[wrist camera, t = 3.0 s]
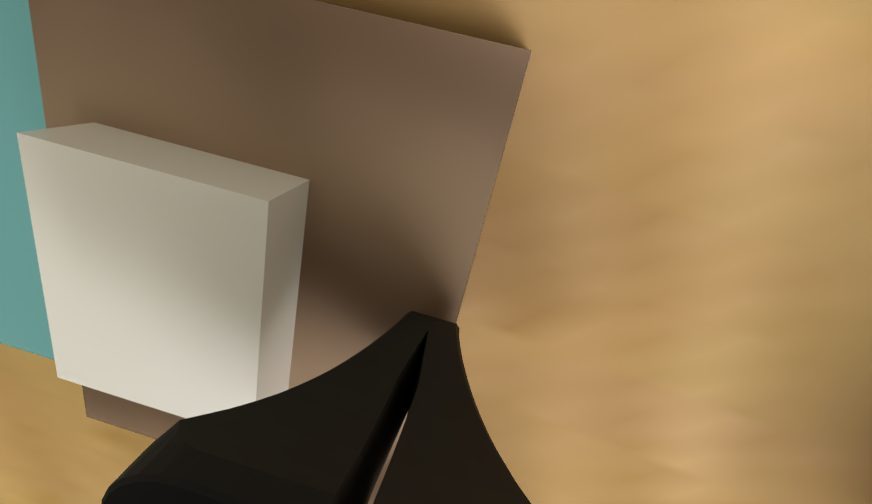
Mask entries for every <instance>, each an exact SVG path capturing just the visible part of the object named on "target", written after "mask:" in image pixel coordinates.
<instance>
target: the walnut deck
mask: <svg viewBox="0 0 872 504" xmlns="http://www.w3.org/2000/svg"><path fill="white" fill-rule="evenodd" d="M28 3H29V10H30V17H31V24H32V31H33V38H34V45H35V52H36V59H37V67H38V74H39V81H40V88H41V95H42V102H43V109H44V116H45V123H46V129H47V128H55V127H63V126H70V125H78V124H86V123H94V122H95V123H99V124H102V125H106V126H110V127H114V128H117V129H121V130H125V131H129V132H132V133H136V134H140V135H144V136H147V137H151V138H155V139H159V140H162V141H166V142H170V143H174V144H177V145H181V146H185V147H189V148H192V149H196V150H200V151H204V152H207V153H211V154H215V155H219V156H222V157H226V158H230V159H234V160H237V161H241V162H245V163H249V164H252V165H256V166H260V167H264V168H267V169H271V170H275V171H279V172H282V173H286V174H290V175H294V176H297V177H301V178H305V179H309V190H308V200H307V210H306V220H305V230H304V239H303V249H302V259H301V269H300V279H299V289H298V299H297V309H296V319H295V329H294V338H293V348H292V358H291V368H290V378H289V388H288V389H291V388H293V387H295V386H298V385H300V384H302V383H304V382H307V381H309V380H311V379H313V378H315V377H317V376H319V375H321V374H323V373H325V372H327V371H329V370H331V369H332V368H334V367H336V366H338V365H339V364H341V363H343V362H344V361H346V360H348V359H349V358H351V357H352V356H354V355H355V354H357V353H358V352H360V351H361V350H363V349H364V348H366V347H367V346H369V345H370V344H371V343H373V342H374V341H375V340H376V339H378V338H379V337H380V336H382V335H383V334H384V333H386V332H387V331H388V330H389V329H390V328H391V327H393V326H394V325H395V324H396V323H397V322H398V321H399V320H400V319H401V318H403V317H404V316H405V314H406V313H408V312H410V311H414V312H418V313H421V314H425V315H428V316H432V317H435V318H439V319H442V320H446V321H449V322H453V323H456V321H457V318H458V314H459V310H460V307H461V303H462V300H463V296H464V292H465V289H466V285H467V282H468V278H469V274H470V271H471V267H472V264H473V260H474V256H475V253H476V249H477V245H478V242H479V238H480V235H481V231H482V227H483V224H484V220H485V217H486V213H487V209H488V206H489V202H490V198H491V195H492V191H493V188H494V184H495V180H496V177H497V173H498V170H499V166H500V162H501V159H502V155H503V151H504V148H505V144H506V141H507V137H508V133H509V130H510V126H511V123H512V119H513V115H514V112H515V108H516V104H517V101H518V97H519V94H520V90H521V86H522V83H523V79H524V76H525V72H526V68H527V65H528V61H529V58H530V54H531V50H528V49H523V48H519V47H515V46H510V45H506V44H502V43H498V42H493V41H489V40H485V39H480V38H476V37H472V36H468V35H463V34H459V33H455V32H450V31H446V30H442V29H438V28H433V27H429V26H425V25H420V24H416V23H412V22H408V21H403V20H399V19H395V18H390V17H386V16H382V15H378V14H373V13H369V12H365V11H360V10H356V9H352V8H348V7H343V6H339V5H335V4H330V3H326V2H322V1H318V0H28ZM82 387H83V394H84V401H85V408H86V415H87V417H90V418H93V419H96V420H99V421H102V422H105V423H108V424H111V425H114V426H117V427H120V428H124V429H127V430H130V431H133V432H136V433H139V434H142V435H145V436H148V437H151V438H154V439H158V438H159V437H160V436H161V435H162V434H164V433H165V432H166V431H167V430H168V429H170V428H171V427H172V426H173V425H174V424H175V423H177V422H178V421H179V420H181V419H186V418H183V417H180V416H177V415H174V414H171V413H168V412H165V411H161V410H158V409H155V408H152V407H149V406H146V405H143V404H139V403H136V402H133V401H130V400H127V399H124V398H121V397H117V396H114V395H111V394H108V393H105V392H102V391H99V390H95V389H92V388H89V387H86V386H83V385H82ZM407 413H408V412H407ZM406 418H407V414H406V416H405V419H404V421H403V423H402V426H401V428H400V430H399V432H398V435H397V437H396V439H395V441H394V444H393V446H392V448H391V450H390V453H389V455H388V457H387V459H386V462H385V464H384V466H383V468H382V471H381V473H380V475H379V477H378V480H377V482H376V484H375V487H374V489H373V492H372V494H371V497H370V499H369V502H368V504H373V502H374V500H375V497H376V495H377V492H378V490H379V488H380V485H381V483H382V480H383V478H384V475H385V473H386V470H387V468H388V465H389V463H390V460H391V458H392V455H393V452H394V450H395V447H396V445H397V442H398V439H399V437H400V434H401V431H402V429H403V426H404V423H405V420H406Z"/></svg>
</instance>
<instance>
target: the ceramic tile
mask: <svg viewBox="0 0 872 504" xmlns="http://www.w3.org/2000/svg"><path fill="white" fill-rule="evenodd" d="M17 139H18V145H19V151H20V156H21V162H22V168H23V174H24V180H25V186H26V192H27V198H28V204H29V210H30V216H31V222H32V228H33V234H34V240H35V246H36V252H37V258H38V264H39V270H40V276H41V281H42V287H43V293H44V299H45V305H46V311H47V317H48V323H49V329H50V335H51V341H52V347H53V353H54V359H55V365H56V371H57V377H58V378H61V379H64V380H67V381H70V382H73V383H77V384H80V385H83V386H86V387H89V388H92V389H95V390H99V391H102V392H105V393H108V394H111V395H114V396H117V397H121V398H124V399H127V400H130V401H133V402H136V403H139V404H143V405H146V406H149V407H152V408H155V409H158V410H161V411H165V412H168V413H171V414H174V415H177V416H180V417H183V418H191V417H195V416H200V415H204V414H208V413H213V412H217V411H221V410H226V409H230V408H233V407H237V406H241V405H244V404H247V403H251V402H254V401H257V400H261V399H264V398H266V397H269V396H272V395H275V394H278V393H281V392H283V391H286V390H288V388H289V378H290V368H291V358H292V348H293V338H294V329H295V319H296V309H297V299H298V289H299V279H300V269H301V259H302V249H303V239H304V230H305V220H306V210H307V200H308V190H309V179H305V178H301V177H297V176H294V175H290V174H286V173H282V172H279V171H275V170H271V169H267V168H264V167H260V166H256V165H252V164H249V163H245V162H241V161H237V160H234V159H230V158H226V157H222V156H219V155H215V154H211V153H207V152H204V151H200V150H196V149H192V148H189V147H185V146H181V145H177V144H174V143H170V142H166V141H162V140H159V139H155V138H151V137H147V136H144V135H140V134H136V133H132V132H129V131H125V130H121V129H117V128H114V127H110V126H106V125H102V124H99V123H95V122H94V123H86V124H78V125H70V126H63V127H55V128H47V129H40V130H32V131H24V132H17Z"/></svg>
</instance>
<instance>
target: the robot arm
mask: <svg viewBox="0 0 872 504" xmlns="http://www.w3.org/2000/svg"><path fill="white" fill-rule="evenodd" d="M407 412H408V413H407ZM406 414H407V418H406V420H405V423H404V426H403V429H402V431H401V434H400V437H399V439H398V442H397V445H396V447H395V450H394V452H393V455H392V458H391V460H390V463H389V465H388V468H387V470H386V473H385V475H384V478H383V480H382V483H381V485H380V488H379V490H378V492H377V495H376V497H375V500H374V502H373V504H531V503H530V501H529V500H528V499H527V497H526V496H525V494H524V493H523V492H522V490H521V489H520V487H519V486H518V484H517V483H516V482H515V480H514V478H513V477H512V475H511V473H510V472H509V470H508V468H507V467H506V465H505V463H504V462H503V460H502V458H501V457H500V455H499V453H498V452H497V450H496V448H495V446H494V444H493V442H492V440H491V438H490V436H489V434H488V432H487V430H486V428H485V425H484V423H483V421H482V419H481V416H480V414H479V412H478V409H477V406H476V404H475V401H474V398H473V395H472V392H471V389H470V386H469V383H468V380H467V376H466V372H465V368H464V364H463V360H462V355H461V349H460V342H459V327H458V326H457V324H456V323H453V322H449V321H446V320H442V319H439V318H435V317H432V316H428V315H425V314H421V313H418V312H414V311H410V312H408V313H406V314H405V316H404V317H403V318H401V319H400V320H399V321H398V322H397V323H396V324H395V325H394V326H393V327H391V328H390V329H389V330H388V331H387V332H386V333H384V334H383V335H382V336H380V337H379V338H378V339H376V340H375V341H374V342H373V343H371V344H370V345H369V346H367V347H366V348H364V349H363V350H361V351H360V352H358V353H357V354H355V355H354V356H352V357H351V358H349V359H348V360H346V361H344V362H343V363H341V364H339V365H338V366H336V367H334V368H332V369H331V370H329V371H327V372H325V373H323V374H321V375H319V376H317V377H315V378H313V379H311V380H309V381H307V382H304V383H302V384H300V385H298V386H295V387H293V388H291V389H288V390H286V391H283V392H281V393H278V394H275V395H272V396H269V397H266V398H264V399H261V400H257V401H254V402H251V403H247V404H244V405H241V406H237V407H233V408H230V409H226V410H221V411H217V412H213V413H208V414H204V415H200V416H195V417H191V418H186V419H181V420H179V421H178V422H177V423H175V424H174V425H173V426H172V427H171V428H170V429H168V430H167V431H166V432H165V433H164V434H162V435H161V436H160V437H159V438H158V439H157V440H155V441H154V442H153V443H152V444H151V445H150V446H149V447H148V448H147V449H146V450H145V451H144V452H143V453H142V454H141V455H140V456H139V457H138V458H137V459H136V460H135V461H134V462H133V463H132V464H131V465H130V466H129V467H128V468H127V469H126V470H125V471H124V472H123V473H122V474H121V475H120V476H119V477H118V478H117V479H116V480H115V481H114V482H113V483H112V484H111V485H110V486H109V487H108V489H107V491H106V493H105V495H104V497H103V499H102V504H368V502H369V499H370V497H371V494H372V492H373V489H374V487H375V484H376V482H377V480H378V477H379V475H380V473H381V471H382V468H383V466H384V464H385V462H386V459H387V457H388V455H389V453H390V450H391V448H392V446H393V444H394V441H395V439H396V437H397V435H398V432H399V430H400V428H401V426H402V423H403V421H404V419H405V416H406Z"/></svg>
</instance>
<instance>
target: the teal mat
mask: <svg viewBox="0 0 872 504" xmlns="http://www.w3.org/2000/svg"><path fill="white" fill-rule="evenodd" d="M40 129H46V123H45V116H44V109H43V102H42V95H41V88H40V81H39V74H38V67H37V59H36V52H35V45H34V38H33V31H32V24H31V17H30V10H29V3H28V0H0V343H2V344H6V345H9V346H12V347H15V348H18V349H21V350H25V351H28V352H31V353H34V354H37V355H40V356H44V357H47V358H50V359H53V360H55V359H54V353H53V347H52V341H51V335H50V329H49V323H48V317H47V311H46V305H45V299H44V293H43V287H42V281H41V276H40V270H39V264H38V258H37V252H36V246H35V240H34V234H33V228H32V222H31V216H30V210H29V204H28V198H27V192H26V186H25V180H24V174H23V168H22V162H21V156H20V151H19V145H18V139H17V132H24V131H32V130H40Z"/></svg>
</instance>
